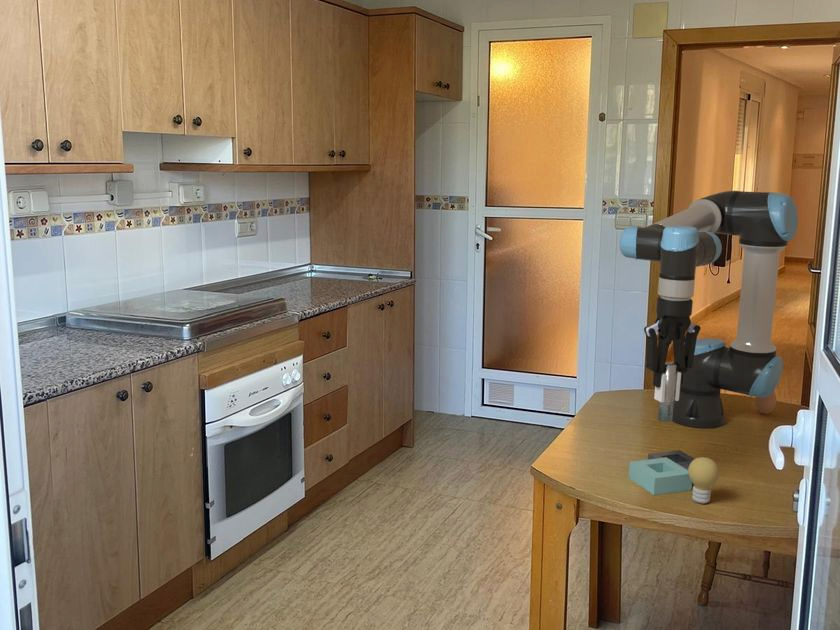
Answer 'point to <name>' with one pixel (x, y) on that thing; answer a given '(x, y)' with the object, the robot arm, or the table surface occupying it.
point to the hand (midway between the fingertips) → (666, 399)
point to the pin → (668, 393)
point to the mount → (674, 457)
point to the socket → (660, 476)
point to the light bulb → (702, 478)
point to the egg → (766, 403)
